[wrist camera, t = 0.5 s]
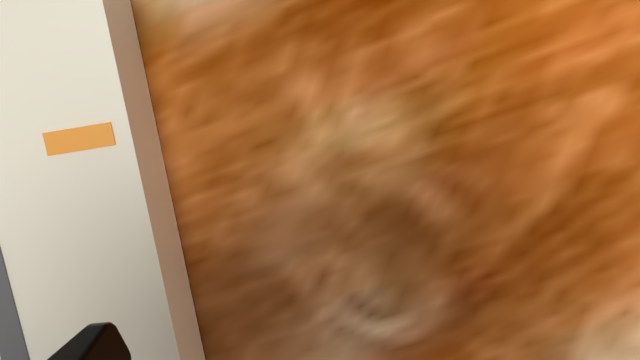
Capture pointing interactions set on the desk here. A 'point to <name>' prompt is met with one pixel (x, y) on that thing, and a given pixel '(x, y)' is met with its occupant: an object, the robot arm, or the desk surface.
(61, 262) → the block
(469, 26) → the desk surface
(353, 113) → the desk surface
